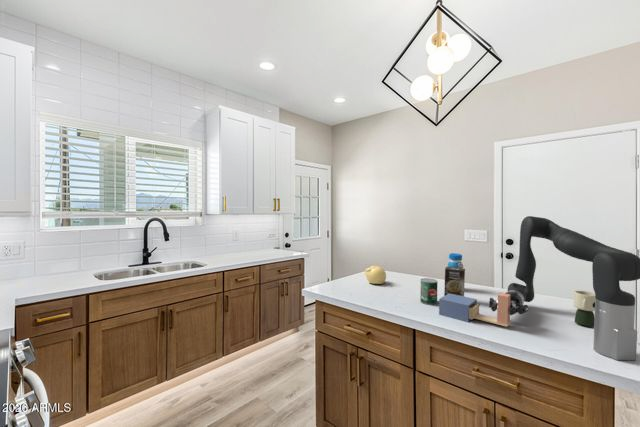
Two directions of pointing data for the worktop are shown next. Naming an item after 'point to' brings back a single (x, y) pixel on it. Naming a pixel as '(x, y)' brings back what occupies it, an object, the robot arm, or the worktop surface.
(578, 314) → the character mug
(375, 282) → the yellow apple
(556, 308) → the worktop surface
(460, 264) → the beverage bottle
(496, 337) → the worktop surface
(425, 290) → the canned tomato
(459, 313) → the sleeve
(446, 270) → the coffee box
